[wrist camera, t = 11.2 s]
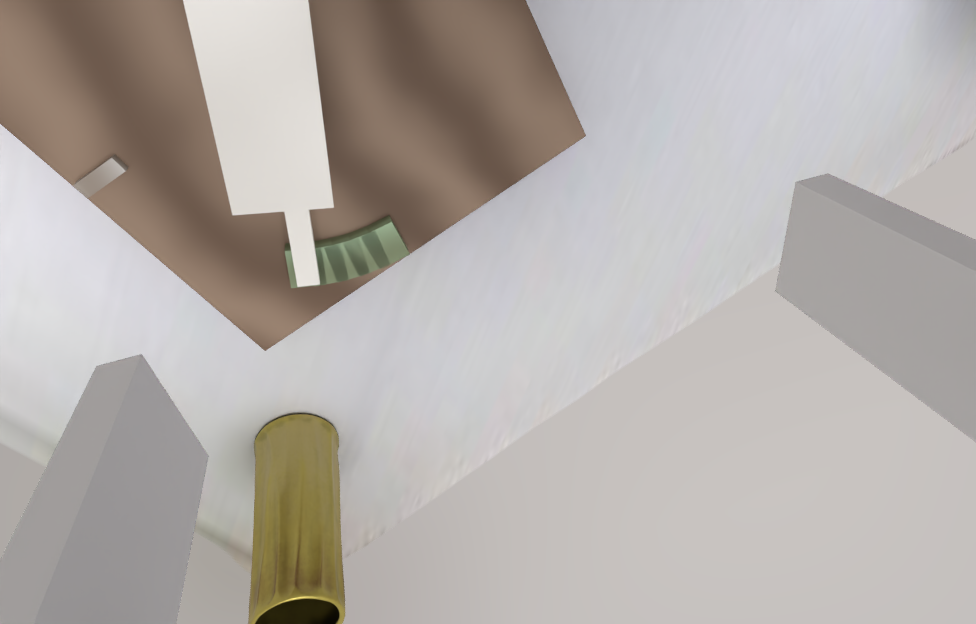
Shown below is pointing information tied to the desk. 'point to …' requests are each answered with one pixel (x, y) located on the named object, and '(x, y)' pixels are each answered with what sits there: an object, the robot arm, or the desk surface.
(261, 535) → the vase
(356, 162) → the brown flat square board
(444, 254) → the desk surface
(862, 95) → the desk surface
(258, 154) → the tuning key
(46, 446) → the desk surface
